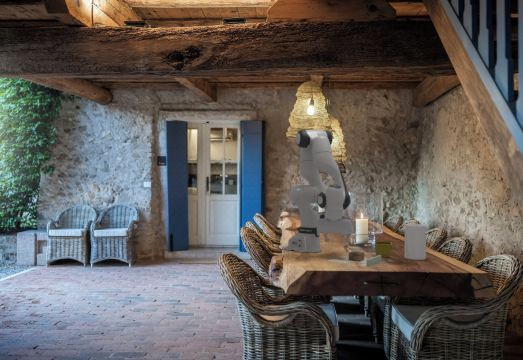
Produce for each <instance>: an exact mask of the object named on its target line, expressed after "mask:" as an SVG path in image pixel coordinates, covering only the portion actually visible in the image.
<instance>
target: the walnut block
mask: <svg viewBox="0 0 523 360" xmlns="http://www.w3.org/2000/svg"><path fill="white" fill-rule="evenodd" d="M348 257H349V258H348V259H349V260H350V261H351V262H352V261H358V262H357V263H360V261H363V260H364V259H365V252H364V251H356V250H352V251H350V252H348Z"/></svg>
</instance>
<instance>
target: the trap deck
mask: <svg viewBox="0 0 523 360" xmlns="http://www.w3.org/2000/svg"><path fill="white" fill-rule="evenodd" d="M340 257H341V258H345V256H342V255H341V256H340ZM346 258H347V259H335V258H331V259H329V260H327V262H331V263H338V264H339V263H340V264H348V263H350V262H353V263H362V264H360V266H362V267H370V266H373V265H375V264H377V263H380V262H382V257H381V255H378V256H377V255H376V256H373V257H369V258H364V260H363V261H360V262H358V261H350V260H349V256H346Z"/></svg>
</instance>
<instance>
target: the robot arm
mask: <svg viewBox="0 0 523 360" xmlns="http://www.w3.org/2000/svg"><path fill="white" fill-rule="evenodd" d="M295 144H296V146H297V148H298V147H299V148H300V152H299V169H300V170H299V172H300V175H301V178H303V179H305V180H306V181H307V183H308V184H297V185H294V186H292V187H291V189H290V190H289V198H290V200H291V202H293V204H295V206H296V207H297V209H298V211H299V215H300V216H299V219H300V226H298V227H297V228H296V230H297V232H296V233H295V234H294V235H293V236H291V237H290V238H289V239H288V243H287V246H285V247H283V250H286V251H291V250H294V251H293V252H297V251H298V252H299V253H317V252H318V253H319V252H322V246H321V240H320V235H321V233H322V235H323V238H324V242H326V243H327V242H329V241H330V238H329V237H328V236H327V235H328V234H337V235H338V234H341V235H343V238H341V243H342V244H344V243H346V240H347V238H348V235H353V234H354V232H355V227H354V221H355V220H354V217H352V216H347V215H344V214H345V213H344V212H345V210H347V208H348V207H350V205H351V196H350V194H349V191H348V188H347V185H346V182H345V180H344V175H343V171H342V169H341V167H340V165H339V164H338V163H337V162H336V160H335V159H334V157H333V156H334V155H333V151H332V144H333V135H332V133H331V131H329V130H326V129H325V130H323V129H315V128H314V129H300V130H298V131H297V133H296V135H295ZM320 171H321V172H323V173H326V174H328V175H330V176H331V177H332V179H333V180H334V183H335V184H330V185H328V186H327V185H326V184H325V183H324V181H323V180H322V178H321V174H320ZM312 204H317V206H318V207H319V208H320V209H323V210H326V212H324V213H320V214H319V212H318V211H317V210H316V209H314V208H313V207H312Z"/></svg>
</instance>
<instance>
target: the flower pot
mask: <svg viewBox="0 0 523 360" xmlns="http://www.w3.org/2000/svg"><path fill="white" fill-rule="evenodd" d="M374 247H375V248H374V250H375V254H376V256H378V255H381V259H383V258H385V259H389V258H390V257H391V255H392V247H393V243H392V242H391V241H379V240H378V241H376V240H375V241H374Z"/></svg>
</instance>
